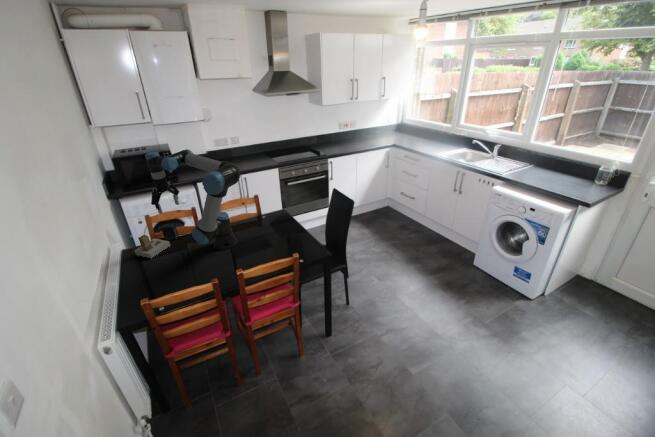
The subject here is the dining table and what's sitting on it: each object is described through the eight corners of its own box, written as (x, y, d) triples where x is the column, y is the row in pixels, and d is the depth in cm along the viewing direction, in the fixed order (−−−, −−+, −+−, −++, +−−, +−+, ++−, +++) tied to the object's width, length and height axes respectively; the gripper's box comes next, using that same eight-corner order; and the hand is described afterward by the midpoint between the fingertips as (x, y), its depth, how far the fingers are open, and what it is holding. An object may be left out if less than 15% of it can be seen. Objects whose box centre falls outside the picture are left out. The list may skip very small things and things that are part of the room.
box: (178, 235, 233) (174, 222, 228) (176, 239, 228) (172, 226, 223) (167, 236, 232) (163, 224, 227) (165, 240, 227) (160, 227, 222)
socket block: (170, 246, 220) (168, 241, 218) (151, 259, 207) (149, 253, 205) (155, 243, 225) (153, 238, 223) (136, 255, 212) (134, 250, 210)
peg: (153, 251, 213) (147, 235, 208) (148, 254, 210) (142, 238, 205) (149, 250, 215) (143, 234, 209) (144, 253, 212) (138, 237, 206)
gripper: (170, 170, 207) (179, 200, 217) (137, 184, 187) (149, 216, 196) (179, 171, 204) (188, 201, 214) (146, 185, 184) (158, 218, 194)
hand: (169, 208), depth 205 cm, fingers open, 13 cm apart
